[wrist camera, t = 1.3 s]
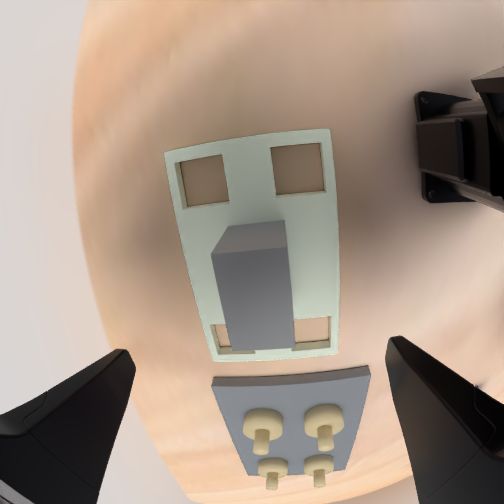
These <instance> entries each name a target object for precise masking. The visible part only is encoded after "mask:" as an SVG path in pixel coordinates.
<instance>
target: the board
mask: <svg viewBox="0 0 504 504" xmlns="http://www.w3.org/2000/svg"><path fill="white" fill-rule="evenodd" d="M309 143H319V144H320V152H321V161H322V171H323V181H324V191H315V192H304V193H294V194H284V195H276V188H275V181H274V173H273V165H272V158H271V150H270V147H277V146H287V145H297V144H309ZM220 154H222V157H223V164H224V170H225V177H226V183H227V189H228V196H229V201H225V202H218V203H211V204H204V205H197V206H191V207H187V202H186V197H185V191H184V186H183V180H182V174H181V169H180V163H179V162H182V161H187V160H192V159H197V158H203V157H208V156H214V155H220ZM164 157H165V163H166V169H167V175H168V180H169V186H170V191H171V196H172V201H173V206H174V211H175V216H176V221H177V226H178V230H179V235H180V239H181V244H182V248H183V252H184V257H185V261H186V265H187V269H188V273H189V277H190V281H191V285H192V289H193V293H194V297H195V301H196V304H197V308H198V312H199V315H200V319H201V322H202V326H203V329H204V333H205V336H206V340H207V343H208V346H209V350H210V353H211V356H212V360H213V362H243V361H268V360H284V359H297V358H308V357H318V356H327V355H336V354H337V353H338V334H339V302H340V261H339V228H338V209H337V194H336V181H335V170H334V160H333V151H332V142H331V134H330V128H326V129H310V130H298V131H287V132H277V133H269V134H261V135H253V136H246V137H239V138H233V139H227V140H221V141H215V142H210V143H204V144H199V145H194V146H189V147H185V148H180V149H176V150H171V151H167V152H164ZM327 316H329V340H326V341H317V342H307V343H296V344H295V332H294V320H297V319H307V318H317V317H327ZM217 324H226V328H227V332H228V336H229V340H230V344H231V347H220V345H219V342H218V338H217V334H216V330H215V326H214V325H217Z"/></svg>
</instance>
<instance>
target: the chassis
mask: <svg viewBox="0 0 504 504" xmlns="http://www.w3.org/2000/svg"><path fill="white" fill-rule="evenodd" d="M370 378H371V373H370V370H369V367H368V366H365V367H358V368H352V369H345V370H337V371H329V372H320V373H310V374H299V375H286V376H268V377H214V378H213V382H212V385H211V387H212V390H213V392H214V395H215V398H216V400H217V403H218V406H219V408H220V411H221V413H222V416H223V418H224V421H225V423H226V426H227V428H228V431H229V433H230V436H231V438H232V440H233V443H234V445H235V447H236V450H237V452H238V454H239V456H240V459H241V461H242V463H243V465H244V467H245V470H246V472H247V474H248V475H251V476H262V477H266V478H267V481H266V489H268V490H276V489H277V487H278V478H280V477H284V476H286V475H302V474H306V475H310V476H314V487H323V486H325V474H328V473H330V472H332V471H340V470H345V468H346V465H347V462H348V459H349V456H350V453H351V450H352V447H353V444H354V441H355V437H356V434H357V431H358V427H359V424H360V420H361V416H362V412H363V408H364V404H365V400H366V396H367V392H368V387H369V382H370Z"/></svg>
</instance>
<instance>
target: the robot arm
mask: <svg viewBox="0 0 504 504" xmlns="http://www.w3.org/2000/svg"><path fill="white" fill-rule="evenodd" d="M471 82H472V84H473V86H474V88H475V90H476V92H479V94H480V96H481V99H477V100H472V99H467V98H462V97H457V96H452V95H446V94H440V93H433V92H426V91H421V92H418V93H416V95H415V105H416V112H417V120H418V124H417V125H416V128H417V138H418V150H419V166H420V169H421V170H422V195H423V198H424V200H425V201H427V202H429V203H448V202H480V203H482V204H485V205H487V206H490V207H492V208H494V209H497V210H499V211H501V212H503V213H504V67H501V68H498V69H496V70H493V71H491V72H488V73H486V74H483V75H481V76H478V77H476V78H474V79H471ZM421 97H424V99H425V103H423V102H422V100H421ZM430 191H432V196H431V197H429V192H430ZM385 362H386V367H387V372H388V377H389V381H390V387H391V392H392V397H393V401H394V405H395V408H396V412H397V415H398V418H399V422H400V425H401V429H402V432H403V436H404V440H405V443H406V447H407V451H408V455H409V459H410V463H411V467H412V471H413V476H414V480H415V485H416V490H417V494H418V500H419V503H420V504H504V404H502V403H500V402H499V401H497V400H495V399H494V398H492V397H491V396H489V395H488V394H486V393H485V392H483V391H482V390H480V389H479V388H477V387H474V385H473V384H471V383H470V382H469V381H467V380H466V379H464V378H463V377H461V376H460V375H459V374H457V373H456V372H454V371H453V370H451V369H450V368H448V367H447V366H445V365H444V364H443V363H441V362H440V361H438V360H437V359H435V358H434V357H432V356H431V355H429V354H428V353H427V352H425V351H424V350H422V349H421V348H419V347H418V346H416V345H415V344H413V343H412V342H410V341H409V340H407V339H406V338H404V337H403V336H394V337H391V338H389V340H388V345H387V350H386V355H385ZM135 373H136V366H135V364H134V362H133V360H132V358H131V356H130V354H129V352H128V351H127V350H126V349H116V350H114V351H112V352H111V353H109V354H107V355H106V356H104V357H103V358H101V359H99V360H98V361H96V362H95V363H93V364H91V365H89V366H88V367H86V368H85V369H83V370H81V371H79V372H78V373H76V374H75V375H73V376H71V377H69V378H68V379H66V380H64V381H63V382H61V383H59V384H58V385H56V386H54V387H53V388H51V389H50V390H48V391H46V392H44V393H43V394H41V395H39V396H38V397H36V398H34V399H33V400H31V401H28V402H27V403H24V404H23V405H21V406H18V407H16V408H14V409H12V410H10V411H8V412H6V413H4V414H1V415H0V504H96V503H97V500H98V496H99V491H100V488H101V484H102V481H103V478H104V474H105V471H106V467H107V464H108V461H109V458H110V455H111V451H112V448H113V445H114V442H115V439H116V436H117V433H118V430H119V427H120V424H121V421H122V418H123V416H124V413H125V410H126V407H127V404H128V400H129V396H130V392H131V388H132V384H133V380H134V376H135Z"/></svg>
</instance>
